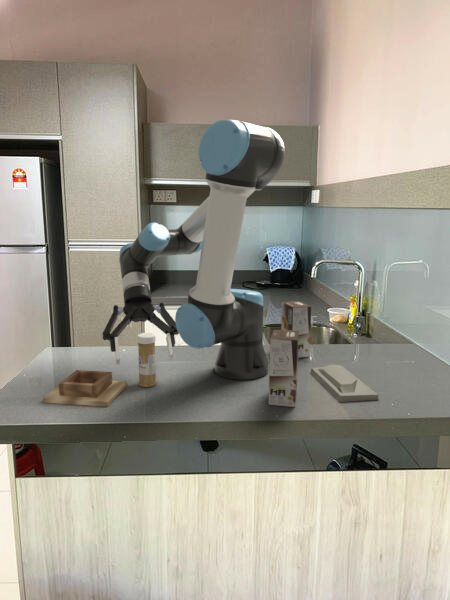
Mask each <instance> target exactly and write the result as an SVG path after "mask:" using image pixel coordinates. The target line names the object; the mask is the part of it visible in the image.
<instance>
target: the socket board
mask: <svg viewBox="0 0 450 600" xmlns="http://www.w3.org/2000/svg"><path fill="white" fill-rule="evenodd" d="M127 387H128V381H127V380H113V371H104V370H103V371H102V370H101V371H100V370H83V369H82V370H81V369H76V370H74V371H73V372H72V373H71V374H69V375H68V376H66V378H64V379H63V380H61V381H60V382H58V385H57V386H56V387H54V389H52V390H50V392H48V393H47V394H45V395H43V397H42V403H45V404H61V405H77V406H92V407H93V406H94V407H109V406H110V405H111V404H112V403H113V402H114V401H115V399H117V397H118V396H120V395H121V393H122V392H123V391H124V390H125V389H126V388H127Z"/></svg>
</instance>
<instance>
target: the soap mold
mask: <svg viewBox="0 0 450 600" xmlns="http://www.w3.org/2000/svg"><path fill="white" fill-rule="evenodd" d="M309 373H310V374H311V376H312V377H313V378H314V379H315V380H316V381H318V383H320V385H321V386H323V388H324V389H325V390H326V391H327V392H328V393H329V394H330V395H331V396H332V397H333V398H334V399H335V400H336V401H337V402H338V403H347V402H361V401H376V400H378V401H379V394H378V393H377V392H376V391H374V390H372V388H370V386H369V385H367V384H366V383H364V382H363V380H360V379H359V378H358V377H356V376H355V374H353V373H352V372H351V371H349V370H348V369H347V368H345V367H344V366H343V365H339V364H328V365H326V366H320V367H312V368H311V369H310V372H309Z"/></svg>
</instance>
